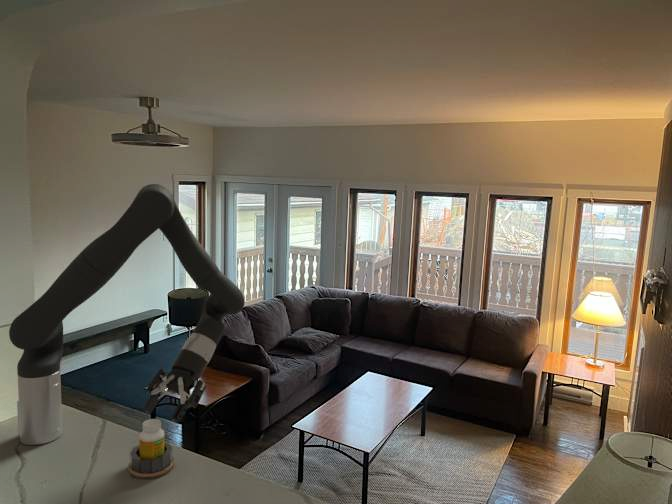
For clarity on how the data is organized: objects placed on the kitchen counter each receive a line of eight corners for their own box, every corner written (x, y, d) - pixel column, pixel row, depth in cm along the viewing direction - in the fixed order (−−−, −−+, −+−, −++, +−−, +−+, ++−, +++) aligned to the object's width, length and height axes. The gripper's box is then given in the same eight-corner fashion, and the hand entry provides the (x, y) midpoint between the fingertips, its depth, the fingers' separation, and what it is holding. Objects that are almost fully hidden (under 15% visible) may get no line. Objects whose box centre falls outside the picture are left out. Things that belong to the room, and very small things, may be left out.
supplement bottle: (156, 470, 114) (156, 429, 113) (134, 466, 115) (134, 426, 114) (168, 458, 119) (168, 418, 118) (147, 454, 120) (147, 415, 119)
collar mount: (118, 471, 115) (118, 454, 114) (152, 451, 124) (152, 436, 123) (150, 484, 110) (150, 467, 110) (183, 462, 119) (183, 446, 119)
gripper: (166, 343, 127) (129, 402, 118) (210, 353, 121) (174, 417, 112) (181, 357, 133) (147, 415, 124) (224, 368, 126) (191, 430, 118)
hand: (160, 416), depth 118 cm, fingers open, 8 cm apart
